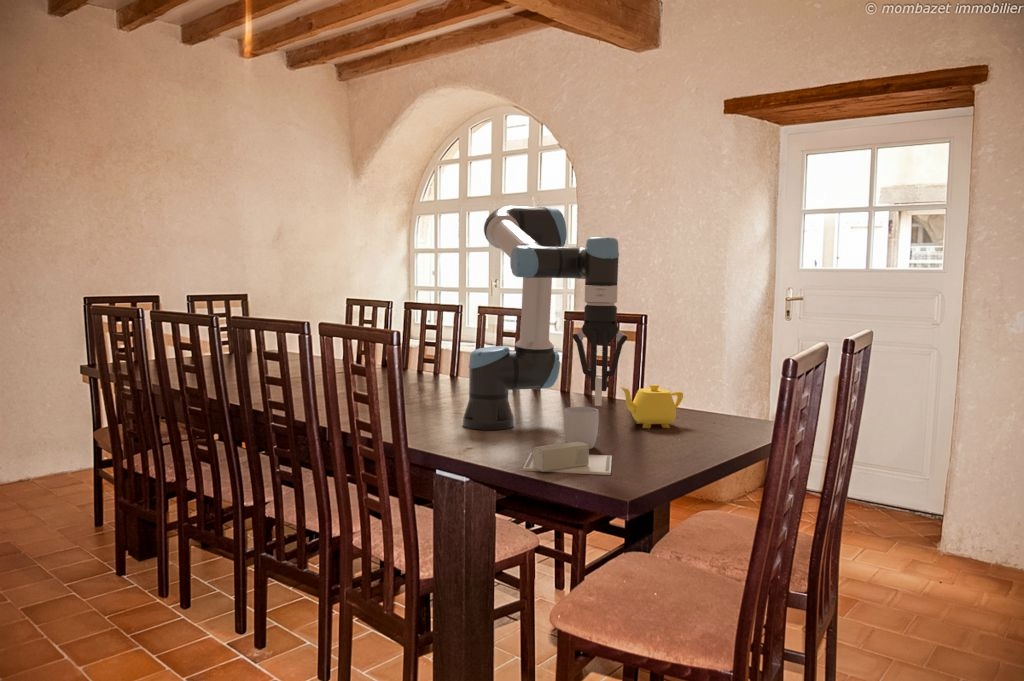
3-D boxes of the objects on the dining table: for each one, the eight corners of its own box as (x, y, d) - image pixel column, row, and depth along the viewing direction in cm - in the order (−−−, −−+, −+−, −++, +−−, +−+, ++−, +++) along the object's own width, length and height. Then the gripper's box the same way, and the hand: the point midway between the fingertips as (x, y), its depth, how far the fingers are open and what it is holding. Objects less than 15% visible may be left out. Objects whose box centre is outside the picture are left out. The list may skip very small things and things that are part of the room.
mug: (603, 450, 192) (604, 412, 191) (570, 452, 189) (571, 413, 189) (585, 439, 204) (586, 403, 203) (554, 441, 202) (555, 404, 201)
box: (579, 441, 177) (532, 445, 170) (590, 444, 173) (543, 449, 167) (578, 462, 177) (532, 468, 171) (589, 467, 173) (542, 472, 167)
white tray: (531, 454, 187) (531, 451, 187) (611, 458, 184) (611, 455, 184) (522, 470, 171) (522, 467, 171) (610, 475, 168) (610, 472, 168)
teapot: (612, 421, 231) (613, 381, 230) (674, 420, 233) (675, 381, 232) (624, 430, 217) (626, 388, 216) (690, 429, 220) (691, 387, 219)
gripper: (571, 304, 170) (569, 406, 172) (628, 305, 168) (626, 408, 170) (574, 303, 178) (571, 400, 180) (629, 304, 175) (626, 403, 177)
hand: (598, 404), depth 175 cm, fingers closed
